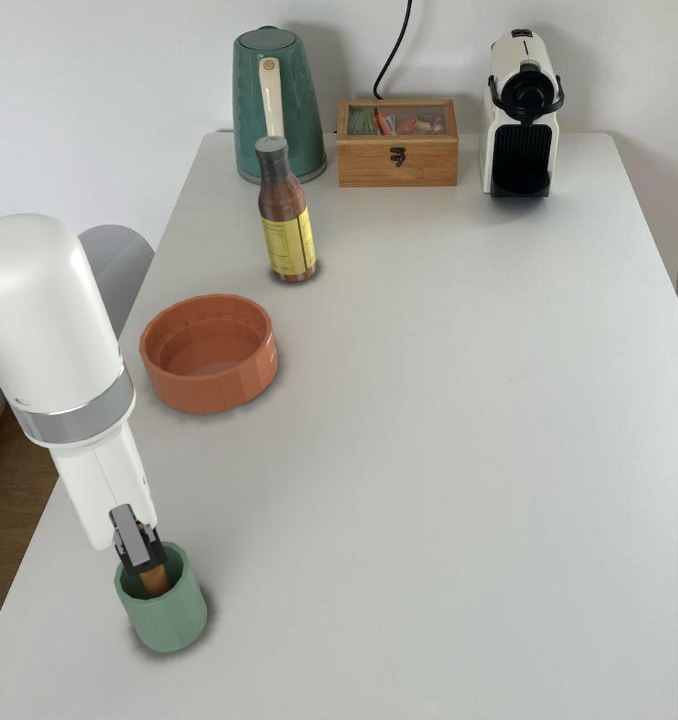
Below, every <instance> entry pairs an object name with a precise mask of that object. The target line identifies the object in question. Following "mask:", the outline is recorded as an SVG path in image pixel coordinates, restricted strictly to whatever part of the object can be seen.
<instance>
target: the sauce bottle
mask: <svg viewBox="0 0 678 720" xmlns="http://www.w3.org/2000/svg"><path fill="white" fill-rule="evenodd" d="M289 150H290V148H289V144H288V142H287V139H286V138H285V137H283V136H281V135H266V136H263V137H260V138H259V139H257V140H256V141H255V142H254V153H255V157H257V159H258V164H259V169H260V172H259V173H260V190H259V193H258V198H257V208H258V212H259V215H260V221H261V225H262V229H263V234H264V239H265V244H266V248H267V253H268V257H269V262H270V266H271V269H273V274H274V275H275V277H276V278H277V279H279V280H281V281H283V282H287V283H297V282H301V281H304V280H307V279H309V278H310V277H312V276H313V275H314V273H315V272H316V269H317V262H316V259H317V257H316V251H315V246H314V245H315V244H314V239H313V234H312V233H313V232H312V228H311V221H310V217H309V211H308V205H307V201H306V199H305V192H304V189H303V186H302V185H301V182H300V179H299V178H298V177H297V176H296V175H295V174H294V172H293V171H292V167H291V165H290V160H289Z"/></svg>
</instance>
